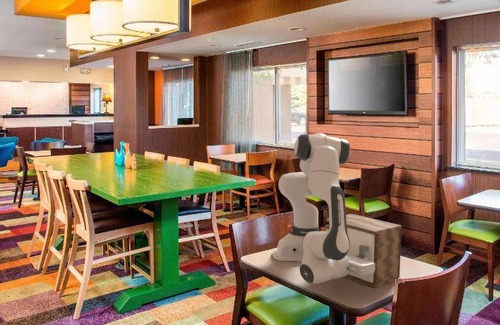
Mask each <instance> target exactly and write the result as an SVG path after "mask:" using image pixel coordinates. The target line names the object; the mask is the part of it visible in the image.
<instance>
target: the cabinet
mask: <svg viewBox="0 0 500 325" xmlns="http://www.w3.org/2000/svg"><path fill="white" fill-rule="evenodd" d="M325 222H326V223H328V225H329V228H330V220H329V217H328V218H325ZM346 222H347V228H352V229H356V230H359V231H363V232H367V233H370V234H374V235H375V244H374V263H375V272H374V276H373V283H370V282H368V281H365V280H363V279H360V278H357V277H355V276H352V275H349V274H347V275H346V276H344V277H343V278H347V279H349V280H352V281H354V282H357V283H359V284H363V285H365V286H367V287H369V288H373V289H375V288H377V287H378V288H379V287H381V286H383V285H387V284H389V283H393V282H395V279H398V278H401V277H400V276H401V274H400V273H401V268H400V267H401V250H402V248H401V245H402V225H400V224H396V223H391V222H388V221H383V220H380V219H375V218H372V217H367V216H362V215H358V214H354V213H349V214H346Z"/></svg>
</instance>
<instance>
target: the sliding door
mask: <svg viewBox="0 0 500 325" xmlns="http://www.w3.org/2000/svg"><path fill="white" fill-rule="evenodd" d="M347 233H348V237H349V242H350V248H349V251H348V253H347V254H350V255H359V258H362V257H367V258H368V261H371V262H374V244H375V235H374V234H370V233H367V232H363V231H359V230H356V229H352V228H347ZM348 274H349V275H352V276H355V277H357V278H360V279H363V280H365V281H368V282H370V283H373V276H374V273H371V274H366V275H358V274H355V273H352V272H350V271H349V273H348Z"/></svg>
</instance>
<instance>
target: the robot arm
mask: <svg viewBox="0 0 500 325" xmlns="http://www.w3.org/2000/svg"><path fill="white" fill-rule="evenodd" d="M293 149H294V150H293V151H294V153H295V157H296V158H297V159H299V160H300V161H299V168H300V170H301V172H300V171H299V172H288V173H284V174H282V175H281V176H280V178H279V179H278V180H279V181H278V190H279V191H280V193H281V194H282V195H283V196H284V197H286V199H287V200H289V202H290V205H291V207H292V210H293V225H292V224H288V225H287V230H289V233H288V234H286V235H285V236H284V237H283V238H281V239H279V241H278V244H277V248H276V249H274V250H273V251H272V254H271V255H272V257H273V259H275V260H276V261H280V262H300V265H299V275H300V276H301V277H302V279H303V280H304V281H305V282H306V283H308V284H310V285H316V284H322V283H323V284H324V283H325V282H329V281H330V280H337V279H341V278H342V277H343V278H345V277H344V276H346V275H347V274H348V273H349V271H350V272H352V273H355V274H358V275H366V274H371V273H374V272H375V263H374V262H371V261H368V258H367V257H362V258H359V255H350V254H347V253H348V251H349V248H350V242H349V237H348V233H347V222H346V215H347V212H346V211H347V208H346V198H345V197H346V196H345V192H344V190H343V189H342V187H341V186H340V165H345V164H346V163H347V162H348V160H349V158H350V156H351V145H350V143H349V142H348V140H346V139H345V138H341V137H339V138H337V137H335V136H330V135H326V134H324V133H322V132H317V133H313V134H308V133H303V134H302V133H301V134H300V135H298V136H297V139H296V140H295V142H294V146H293ZM307 197H317V198H318V199H320V200H323V201H325V202H326V203H327V205H328V206H327V207H328V213H329V214H328V215H329V216H328V218H329V220H330V228H329V230H328V231H326V230H325V231H323V230H321V231H320V227H319V210H318V208H317V206H315V205H314V204H312V203H310V202H307Z"/></svg>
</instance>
